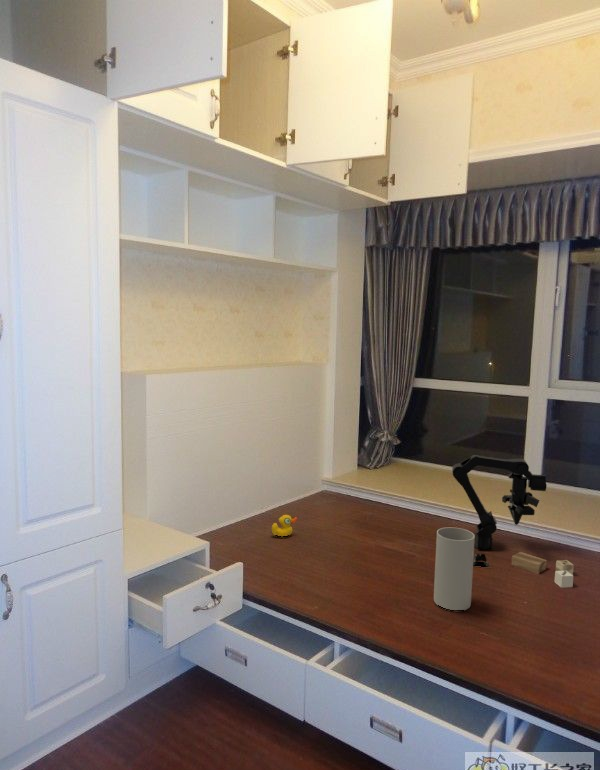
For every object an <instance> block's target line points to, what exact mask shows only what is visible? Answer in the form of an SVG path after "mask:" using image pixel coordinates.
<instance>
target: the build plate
mask: <svg viewBox="0 0 600 770" xmlns="http://www.w3.org/2000/svg"><path fill="white" fill-rule="evenodd" d="M474 554H475V555H474V557H473V566H481V567H490V565H489V563H490V562H488V560H487V557H486V554H485V553H475V552H474ZM486 562H487V563H486ZM481 567H480V568H481Z"/></svg>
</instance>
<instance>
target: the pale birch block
mask: <svg viewBox="0 0 600 770" xmlns="http://www.w3.org/2000/svg"><path fill="white" fill-rule="evenodd" d="M555 562H556V563H555V571H568V572H569V573H570V574H572V575H573V576H574V567H575V564H573V563H572V562H570V561H569V560H567V559H564V560H556V561H555Z"/></svg>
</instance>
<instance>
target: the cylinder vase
mask: <svg viewBox="0 0 600 770" xmlns="http://www.w3.org/2000/svg"><path fill="white" fill-rule="evenodd" d="M474 544H475V534H474V533H473V532H472V531H470V530H468V529H465V528H460V527H448V526H447V527H441V528H439V529H437V531H436V543H435V562H434V563H435V564H434V565H435V566H434V586H433V601H434V603H435V604H436V605H437V606H438V605H439V606H441V607H443V608H446V609H450V610H464V611H467V610H468V609H469V608H470V607H471V605H472V604H471V603H472V587H473V571H474V567H473V561H474V557H475V555H474V554H475V547H474ZM439 606H438V607H439ZM441 607H440V608H441ZM443 608H442V609H443ZM446 609H445V610H446ZM450 610H449V611H450Z"/></svg>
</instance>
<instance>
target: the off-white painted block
mask: <svg viewBox="0 0 600 770" xmlns="http://www.w3.org/2000/svg"><path fill="white" fill-rule="evenodd" d="M554 583H555V584H556V585H558V586H559V587H560V588H563V589H564V588H573V586H574V585H573V583H574V574H573V575H572V574H570V573H569V572H568V571H556V570H555V572H554Z"/></svg>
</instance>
